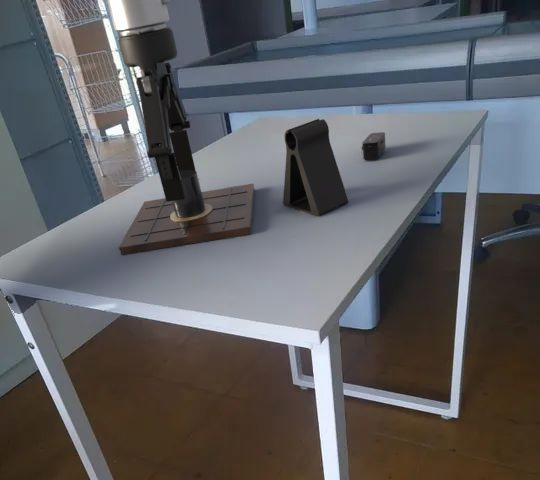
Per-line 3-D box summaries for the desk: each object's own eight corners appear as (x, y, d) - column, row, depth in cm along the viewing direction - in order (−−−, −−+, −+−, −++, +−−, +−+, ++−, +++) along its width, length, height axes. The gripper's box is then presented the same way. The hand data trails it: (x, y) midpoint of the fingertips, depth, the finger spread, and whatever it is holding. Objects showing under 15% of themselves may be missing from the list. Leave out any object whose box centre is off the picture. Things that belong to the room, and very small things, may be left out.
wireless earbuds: (387, 148, 103) (386, 130, 101) (377, 161, 98) (376, 142, 96) (363, 150, 105) (362, 132, 103) (352, 162, 100) (351, 144, 98)
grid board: (121, 255, 82) (118, 246, 82) (146, 208, 99) (143, 200, 98) (251, 234, 80) (249, 225, 80) (254, 189, 97) (253, 182, 96)
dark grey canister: (173, 220, 87) (162, 182, 83) (177, 208, 91) (168, 173, 88) (203, 215, 86) (194, 177, 83) (207, 204, 90) (198, 167, 87)
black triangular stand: (283, 205, 88) (271, 127, 81) (311, 193, 90) (302, 116, 83) (319, 216, 81) (308, 133, 75) (348, 203, 84) (341, 121, 77)
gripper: (154, 33, 63) (196, 209, 76) (183, 18, 84) (212, 159, 96) (92, 44, 64) (143, 217, 76) (136, 27, 84) (170, 165, 97)
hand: (182, 185), depth 86 cm, fingers open, 13 cm apart
